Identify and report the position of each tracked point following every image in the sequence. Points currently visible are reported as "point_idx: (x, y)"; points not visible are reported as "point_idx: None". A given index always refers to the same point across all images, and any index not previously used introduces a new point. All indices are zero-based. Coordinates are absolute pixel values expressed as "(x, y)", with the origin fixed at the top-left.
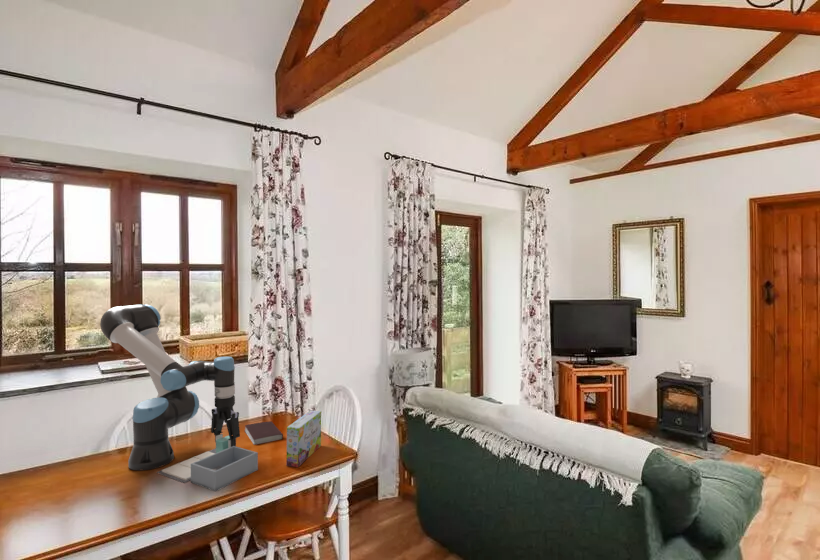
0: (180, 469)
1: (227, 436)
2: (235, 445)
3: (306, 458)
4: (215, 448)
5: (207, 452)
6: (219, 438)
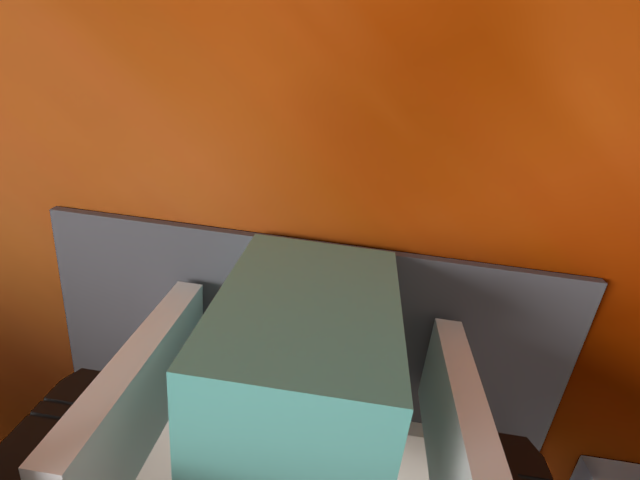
0: None
1: (204, 427)
2: (536, 459)
3: None
4: (60, 259)
5: None
6: (113, 474)
